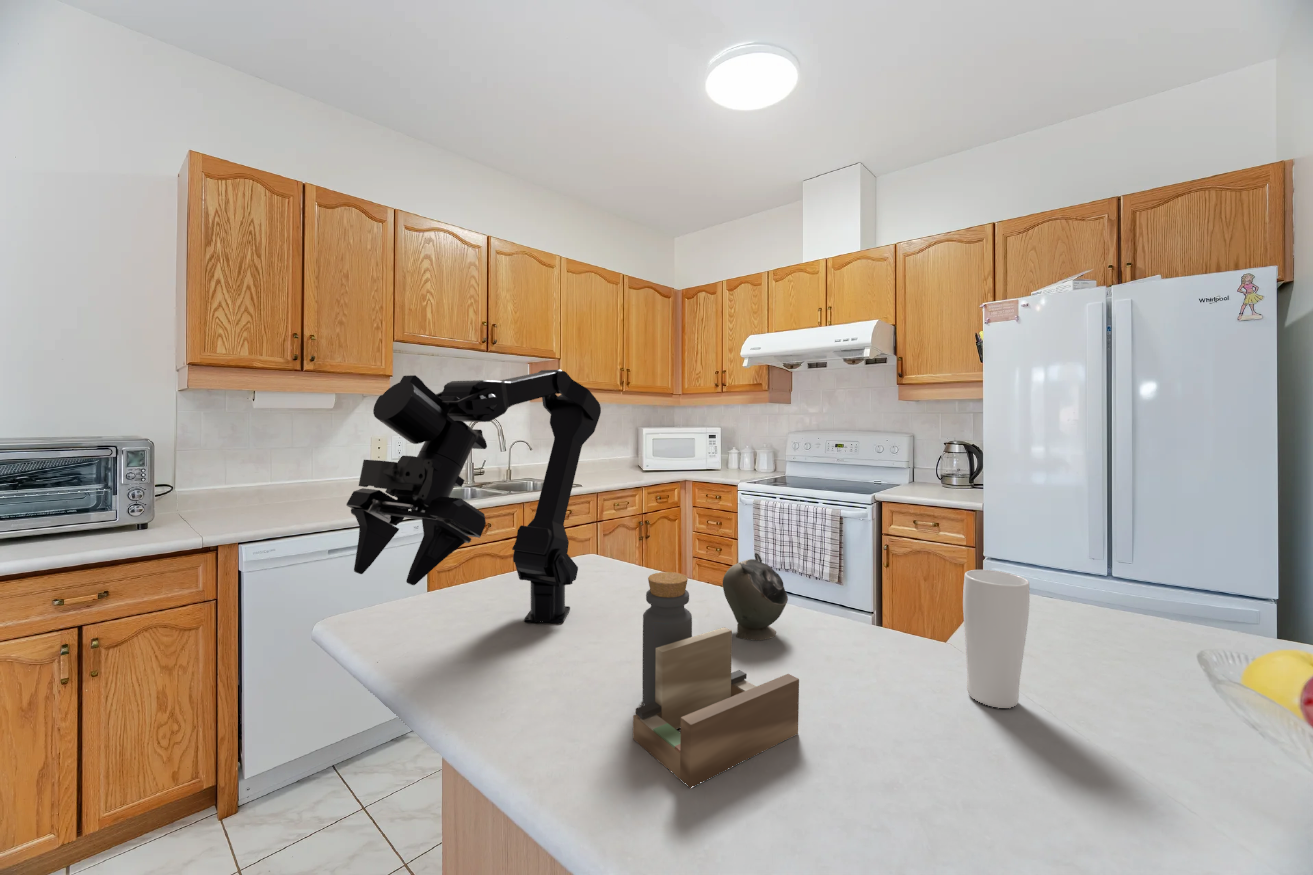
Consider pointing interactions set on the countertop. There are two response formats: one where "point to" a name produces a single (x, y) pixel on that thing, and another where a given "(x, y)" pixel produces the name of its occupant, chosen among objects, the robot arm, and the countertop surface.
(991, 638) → the drinking glass
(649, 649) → the bottle
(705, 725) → the wooden rack
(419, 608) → the countertop surface
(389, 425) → the robot arm
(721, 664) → the wooden flat panel
